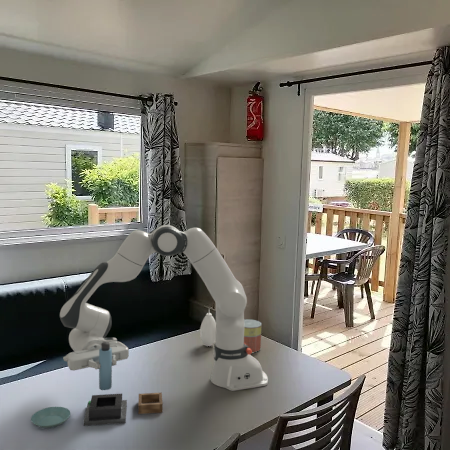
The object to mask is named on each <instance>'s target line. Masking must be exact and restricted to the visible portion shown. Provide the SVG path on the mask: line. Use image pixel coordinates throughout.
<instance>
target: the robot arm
mask: <svg viewBox="0 0 450 450" xmlns="http://www.w3.org/2000/svg"><path fill="white" fill-rule="evenodd" d="M155 253H158V255H160V256H164V257H171V256H175V255H177V254H181V253H183V254H184V255H185V256H186V257H187V259H188V260H189V262H190V264H191V265H192V267H193V269H195V271H196V272H197V274H198V275H199V277H200V278H201V280H202V282H203V283H204V285H205V286H206V288H207V291H208V292H209V294H210V296H211V298H212V299H213V301H214V302H215V322H216V340H215V342H214V344H213V346H214V347H213V359H214V360H213V367H212V372H211V375H210V378H209V380H210V382H211V383H212V384H214V385H215V386H218V387H221V388H223V389H227V390H229V391H233V392H235V391H241V390H246V389H253V388H258V387H264V386H265V387H266V386H267V385H268V384H269V377H268V375H267V373H266V372H265V371H263V368H262V365H261V363H260V361H259V360H258V359H257V358H255V357H254V356H252V355H251V354H253V353H252V350H251V349H250V348H249V347H248V346H247V345H246V344H245V343H244V319H245V310H246V308H247V307H246V306H247V305H248V297H247V295H246V292H245V289H244V286H243V284H242V283H241V282H240V281H239V280H238V279H236V277H235V276H234V275H235V274H233V272H232V270H231V269H230V267H229V265H228V263H227V262H226V260H225V259H224V256H222V254H221V253H220V251H219V250H218V248H217V247H216V246H215V244H214V243H213V241H212V239H211V238H210V237H209V236H208V235H207V233H205V231H204V230H202V229H201V228H200V227H191V228H188V229H186V230H185V231H180V230H179V229H178V228H177V227H175V226H173V225H171V224H163V225H160V226H158V227H156V228H155V229H153V230H152V231H150V232H149V233H148V232H146V231H144V230H139V229H137V230H132V231H131V232H130V233H129V234H128V236H126V238H125V239H124V241H122V243H121V245H120V246H119V248H118V250H117V251H116V253H115V254H114V256H113V257H111V258H110V259H109V260H107V261H105V262H101V263H100V264H98V265H97V266H96V267H95V268H94V269H93V271H92V272H91V273H90V274H89V276H88V277H86V279H85V281H83V282H82V284H81V285H80V287H79V288H78V289H77V290H76V291H75V293H73V295H72V296H71V297H70V298H69V299H67V301H65V303H64V304H63V306H62V307H61V309H60V312H59V318H60V321H61V323H62V325H63V326H64V327H65V328H70V329H71V331H70V332H69V335H68V343H69V346H70V348H71V349H72V350H73V351H72V352H69V353H68V354H66V355H65V356H63V361H64V362H67V366H68V367H67V368H68V369H69V371H78V370H83V369H84V370H85V369H87V368H93V369H95V370H99V369H100V368H101V367H100V366H101V364H100V363H99V349H100V348H101V344H102V343H103V342H109V343H110V348H112V367H113V366H117V362H119V361H123V360H127V359H128V358H129V355H130V353H129V347H128V346H127V345H125V343H122V342H121V341H118V339H117V338H116V337H107V335H108V334H109V332H110V330H111V328H112V324H113V323H112V316H111V312H110V311H109V310H107V309H105V308H102V307H99V306H95V305H93V304H90V303H88V300H89V299H90V298H91V296H92V295H94V293H95V292H96V291H97V289H98V288H99V287H100V286H102V285H103V284H107V283H113V282H114V283H126V282H130V281H132V280H134V279H136V278H137V276H139V274H141V271H142V270H143V268H144V266H145V265H146V262H147V261H148V259H149V257H151V255H153V254H155Z"/></svg>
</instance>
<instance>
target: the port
mask: <svg viewBox="0 0 450 450" xmlns="http://www.w3.org/2000/svg"><path fill="white" fill-rule="evenodd" d="M90 399H91V400H89V401H88V402H87V403H86V404H87V405H86V409H85V414H84V418H83V427H86V426H87V427H88V426H91V427H92V426H103V425H104V426H105V425H118V424H126V422H127V408H128V407H127V405H128V400H127V399H124V400H123V393H110V394H109V393H106V394H94V395H93V394H92V395H91V398H90Z"/></svg>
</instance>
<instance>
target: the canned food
mask: <svg viewBox="0 0 450 450" xmlns="http://www.w3.org/2000/svg"><path fill="white" fill-rule="evenodd" d="M262 324H263V323H262V322H261V321H259V320H256V319H252V318H250V319H249V318H248V319H247V318H246V319H245V318H244V343H245V344H246V345H247V346H248V347H249V348H250V349H251V350H252V352H256V351H259V350H260V348H261V347H262V346H261V345H262V344H261V343H262ZM260 351H261V350H260ZM260 351H259V352H260ZM256 353H257V352H256Z"/></svg>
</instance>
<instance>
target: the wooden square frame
mask: <svg viewBox="0 0 450 450" xmlns="http://www.w3.org/2000/svg"><path fill="white" fill-rule="evenodd" d="M137 404H138V406H137V407H138V415H143V414H144V415H145V414H146V415H147V414H156V413H157V414H158V413H161V414H162V413H163V408H164V405H163V404H164V402H163V393H162V392H148V393H147V392H145V393H138V403H137Z"/></svg>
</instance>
